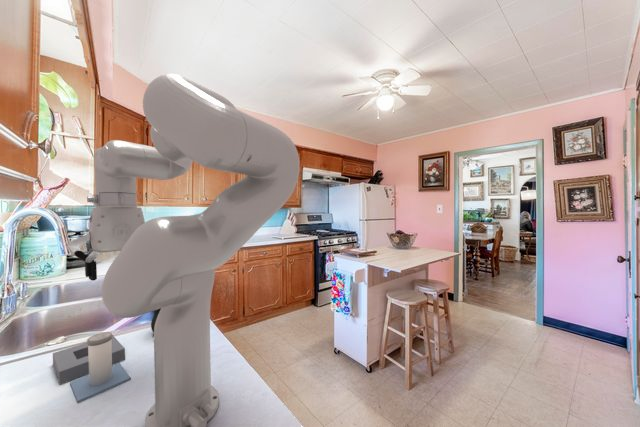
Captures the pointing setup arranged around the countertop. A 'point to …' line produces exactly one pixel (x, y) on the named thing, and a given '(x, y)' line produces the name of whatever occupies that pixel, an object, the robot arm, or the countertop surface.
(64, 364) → the socket block
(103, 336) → the plug
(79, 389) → the mat
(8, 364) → the countertop surface
